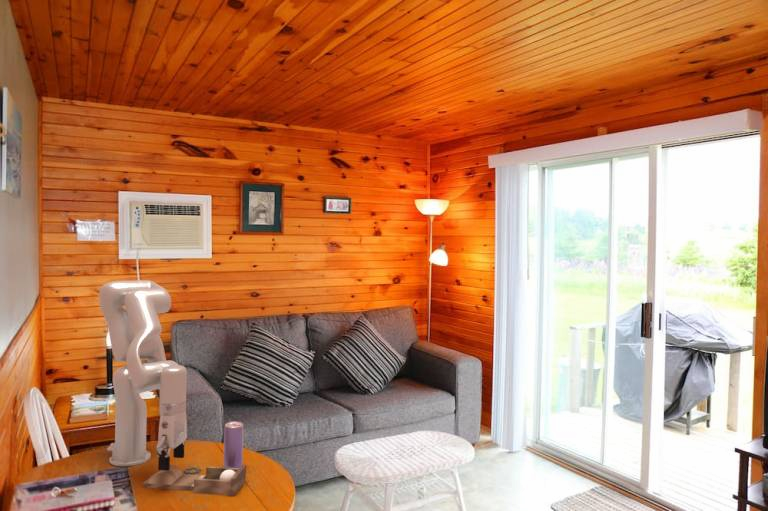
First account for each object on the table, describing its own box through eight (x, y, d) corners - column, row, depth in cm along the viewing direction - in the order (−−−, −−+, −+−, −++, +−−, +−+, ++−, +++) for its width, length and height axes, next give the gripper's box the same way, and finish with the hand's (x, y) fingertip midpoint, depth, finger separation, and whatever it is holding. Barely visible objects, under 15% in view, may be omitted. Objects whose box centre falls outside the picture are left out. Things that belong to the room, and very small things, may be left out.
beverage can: (237, 475, 180) (238, 428, 180) (219, 473, 181) (220, 426, 181) (245, 468, 186) (246, 422, 185) (228, 466, 187) (229, 420, 187)
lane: (140, 503, 168) (141, 472, 168) (157, 488, 178) (157, 459, 178) (234, 509, 166) (234, 478, 165) (245, 494, 176) (246, 465, 175)
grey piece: (188, 476, 178) (188, 474, 178) (182, 471, 182) (182, 469, 182) (202, 472, 181) (202, 470, 181) (196, 467, 185) (196, 466, 185)
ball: (215, 473, 169) (230, 468, 169) (222, 471, 174) (237, 466, 174) (218, 490, 168) (234, 486, 167) (225, 488, 173) (241, 483, 172)
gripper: (171, 416, 163) (170, 476, 163) (196, 400, 180) (195, 453, 180) (146, 415, 163) (145, 474, 164) (173, 398, 181) (172, 452, 181)
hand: (171, 463), depth 172 cm, fingers open, 9 cm apart
